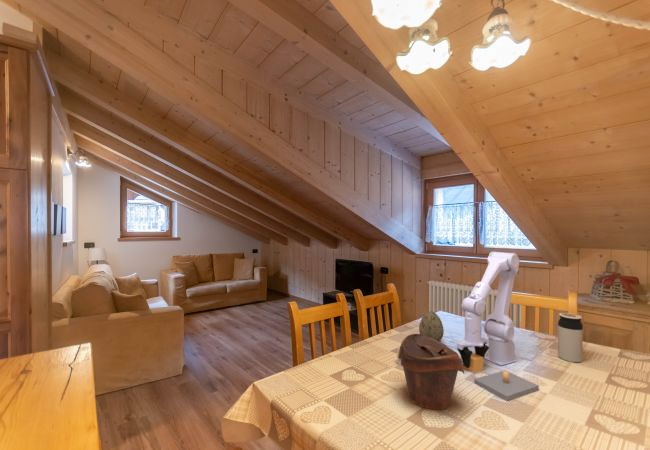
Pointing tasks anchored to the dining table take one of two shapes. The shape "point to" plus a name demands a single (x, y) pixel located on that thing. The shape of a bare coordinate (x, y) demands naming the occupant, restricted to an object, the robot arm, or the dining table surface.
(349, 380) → the dining table surface
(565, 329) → the travel mug
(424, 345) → the brown tapered pot
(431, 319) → the decorative egg
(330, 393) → the dining table surface
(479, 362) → the light orange cube
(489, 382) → the plate
